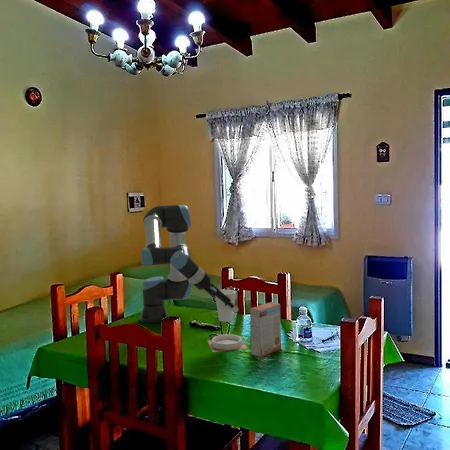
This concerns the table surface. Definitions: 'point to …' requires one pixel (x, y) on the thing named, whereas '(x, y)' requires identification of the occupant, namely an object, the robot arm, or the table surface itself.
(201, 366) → the table surface
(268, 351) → the cracker box
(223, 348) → the bowl
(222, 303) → the foam cup
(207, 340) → the cork mat
